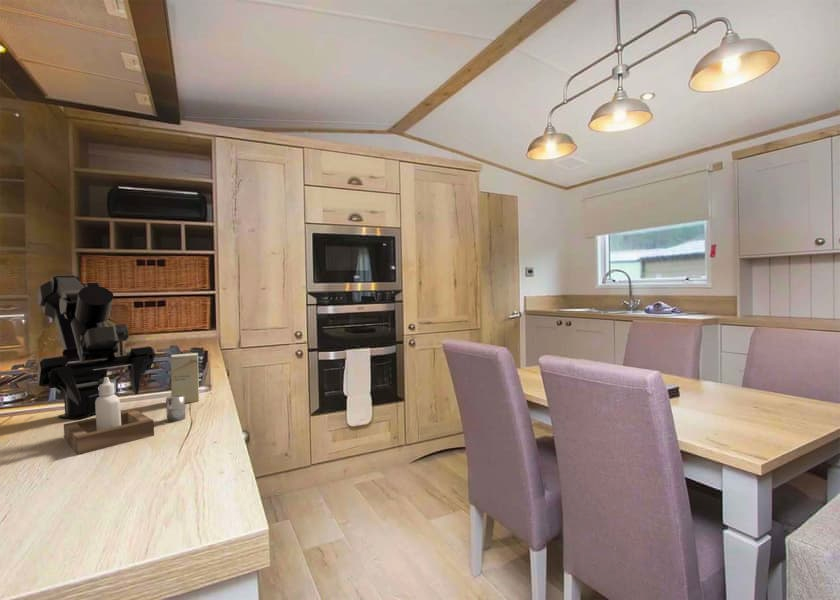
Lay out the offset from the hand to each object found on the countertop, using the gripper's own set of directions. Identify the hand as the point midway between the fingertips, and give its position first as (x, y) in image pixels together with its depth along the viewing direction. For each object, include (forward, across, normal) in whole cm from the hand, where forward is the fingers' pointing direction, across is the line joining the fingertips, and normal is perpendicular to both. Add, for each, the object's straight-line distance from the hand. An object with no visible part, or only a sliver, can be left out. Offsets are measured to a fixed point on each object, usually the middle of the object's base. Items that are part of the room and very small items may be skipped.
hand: (109, 398), depth 82 cm
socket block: (+5, 0, +7) cm, 8 cm away
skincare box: (-6, +20, +18) cm, 27 cm away
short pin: (+4, +13, +8) cm, 15 cm away
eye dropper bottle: (+5, 0, +7) cm, 8 cm away
